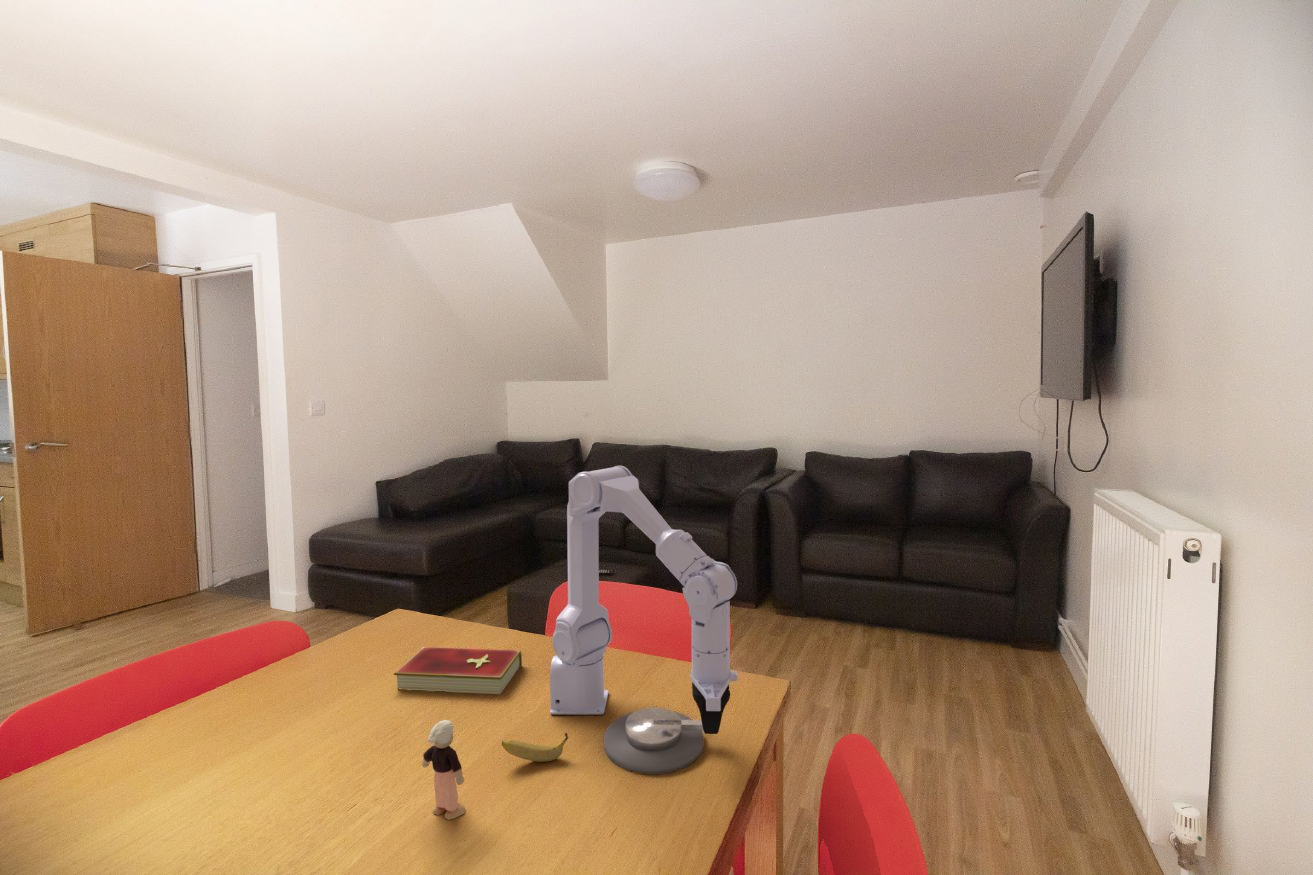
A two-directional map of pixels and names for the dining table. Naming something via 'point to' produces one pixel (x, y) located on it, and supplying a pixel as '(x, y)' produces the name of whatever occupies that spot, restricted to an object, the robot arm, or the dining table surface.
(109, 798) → the dining table surface
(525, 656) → the dining table surface
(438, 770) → the grandmother figurine
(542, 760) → the banana
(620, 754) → the dial base
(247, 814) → the dining table surface
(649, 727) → the dial
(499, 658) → the hardcover book
